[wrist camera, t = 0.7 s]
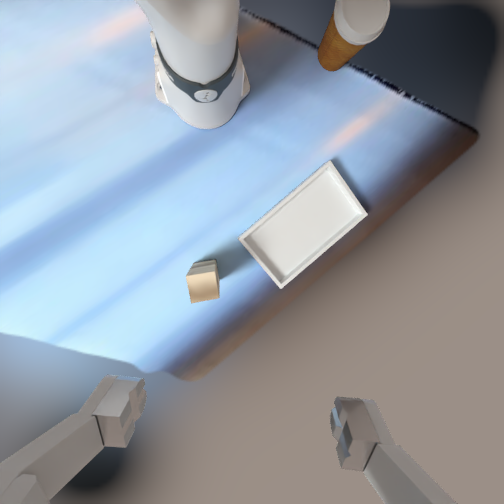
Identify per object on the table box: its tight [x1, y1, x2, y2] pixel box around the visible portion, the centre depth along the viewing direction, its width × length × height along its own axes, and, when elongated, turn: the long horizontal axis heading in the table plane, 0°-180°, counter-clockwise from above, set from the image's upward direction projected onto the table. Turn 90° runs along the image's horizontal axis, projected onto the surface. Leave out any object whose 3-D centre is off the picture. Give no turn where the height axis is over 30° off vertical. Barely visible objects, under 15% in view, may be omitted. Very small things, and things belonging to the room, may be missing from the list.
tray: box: [237, 161, 368, 289], centre depth 53 cm, size 26×15×3 cm, turn 130°
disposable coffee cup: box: [318, 0, 390, 71], centre depth 44 cm, size 10×10×12 cm
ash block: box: [186, 259, 220, 303], centre depth 47 cm, size 5×5×12 cm
